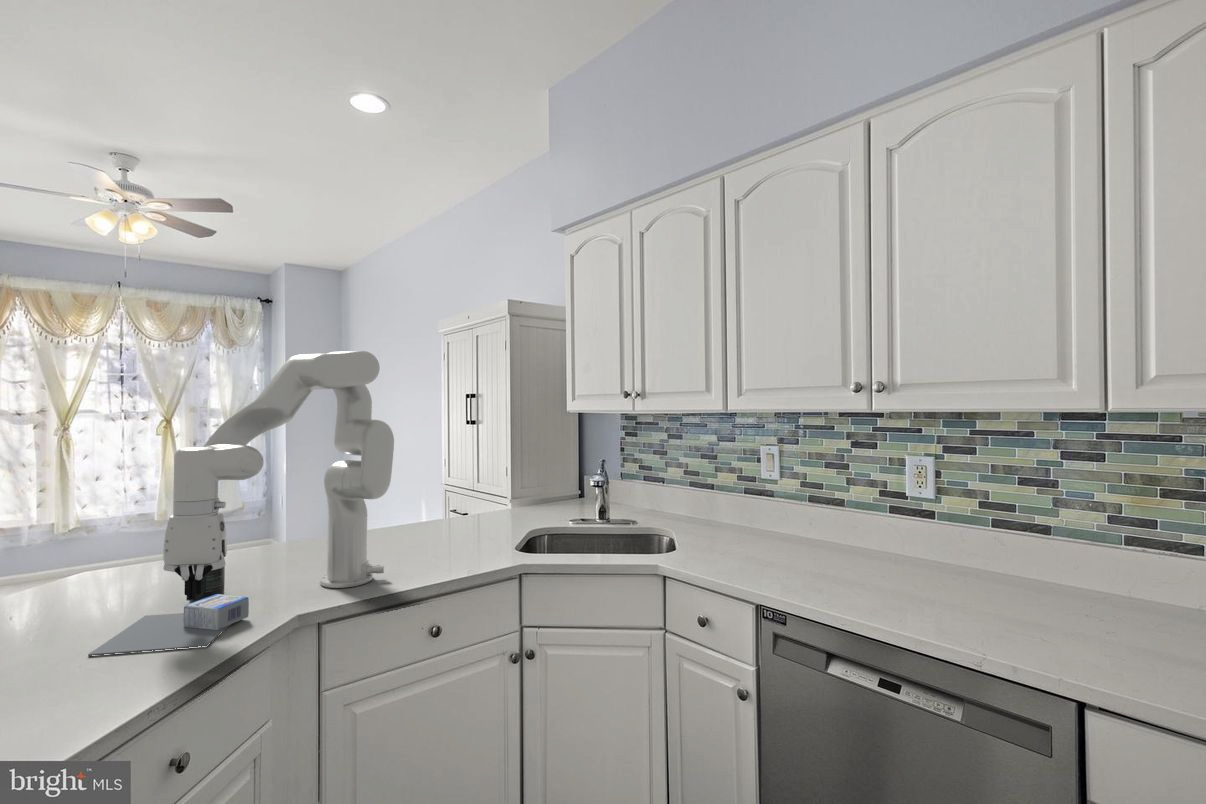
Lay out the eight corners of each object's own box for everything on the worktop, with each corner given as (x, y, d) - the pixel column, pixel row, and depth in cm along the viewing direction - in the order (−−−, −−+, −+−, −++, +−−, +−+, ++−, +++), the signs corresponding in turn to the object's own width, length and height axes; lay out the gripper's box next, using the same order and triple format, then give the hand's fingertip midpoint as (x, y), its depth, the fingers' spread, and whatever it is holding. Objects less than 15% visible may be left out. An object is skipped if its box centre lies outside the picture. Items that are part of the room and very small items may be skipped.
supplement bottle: (185, 600, 136) (186, 549, 137) (218, 593, 142) (219, 544, 142) (194, 607, 132) (195, 554, 132) (228, 599, 137) (229, 548, 137)
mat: (244, 611, 130) (244, 609, 130) (206, 647, 110) (206, 645, 110) (145, 617, 125) (145, 615, 125) (88, 657, 106) (88, 654, 106)
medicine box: (218, 609, 117) (182, 605, 119) (217, 631, 117) (182, 626, 119) (249, 596, 125) (215, 593, 127) (249, 617, 125) (215, 613, 127)
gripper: (243, 503, 124) (242, 590, 124) (162, 506, 121) (161, 594, 121) (230, 510, 117) (228, 601, 117) (143, 512, 113) (142, 607, 113)
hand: (194, 597), depth 119 cm, fingers closed
